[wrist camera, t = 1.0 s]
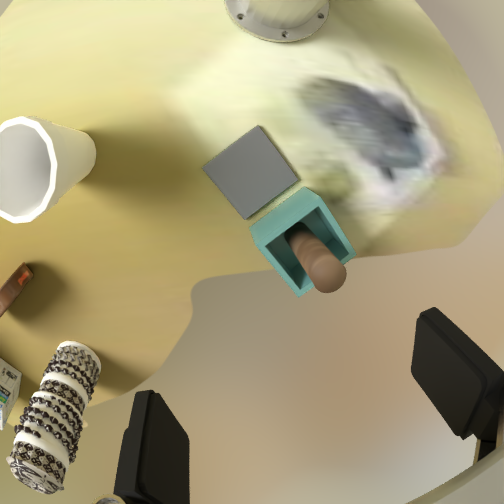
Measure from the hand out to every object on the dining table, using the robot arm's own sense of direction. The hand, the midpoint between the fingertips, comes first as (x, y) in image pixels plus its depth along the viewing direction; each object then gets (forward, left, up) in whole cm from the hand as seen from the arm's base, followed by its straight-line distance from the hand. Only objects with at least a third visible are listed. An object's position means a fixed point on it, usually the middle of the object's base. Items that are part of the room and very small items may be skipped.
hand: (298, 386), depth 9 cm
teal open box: (-3, +8, -29) cm, 30 cm away
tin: (+35, -13, -29) cm, 47 cm away
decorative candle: (+37, +3, -29) cm, 47 cm away
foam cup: (+12, -18, -29) cm, 36 cm away
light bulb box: (+59, -4, -29) cm, 66 cm away
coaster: (-3, -2, -29) cm, 29 cm away
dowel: (-3, +8, -28) cm, 29 cm away
